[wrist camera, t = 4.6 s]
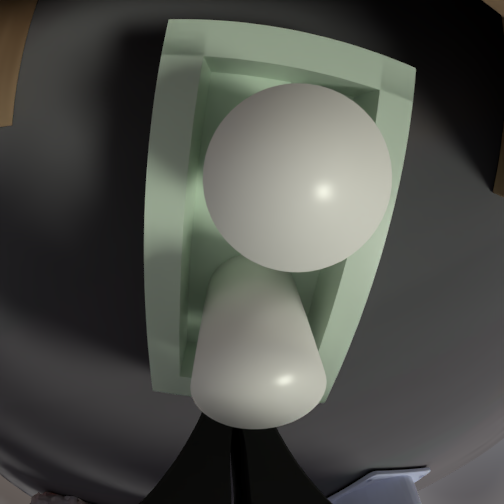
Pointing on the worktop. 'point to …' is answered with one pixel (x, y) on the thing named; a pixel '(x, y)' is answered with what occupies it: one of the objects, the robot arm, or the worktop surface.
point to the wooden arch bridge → (13, 40)
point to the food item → (55, 499)
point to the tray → (179, 176)
